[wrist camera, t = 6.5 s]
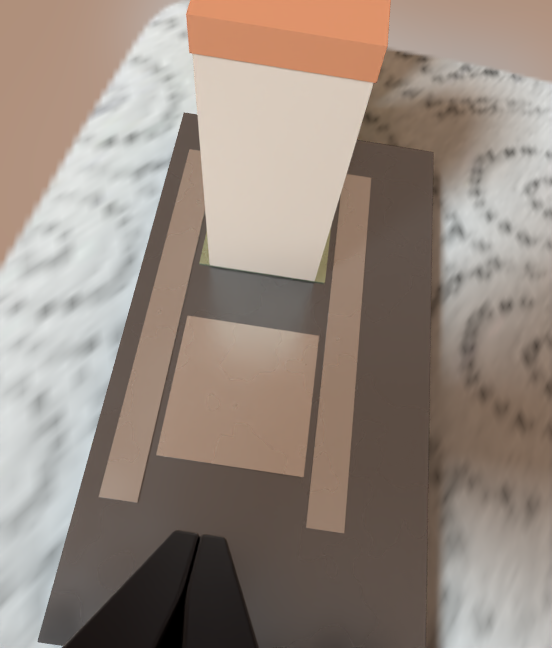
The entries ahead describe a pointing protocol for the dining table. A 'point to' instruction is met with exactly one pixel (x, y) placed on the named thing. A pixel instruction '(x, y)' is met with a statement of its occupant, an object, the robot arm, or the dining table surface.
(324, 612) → the plate
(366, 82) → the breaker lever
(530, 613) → the dining table surface
